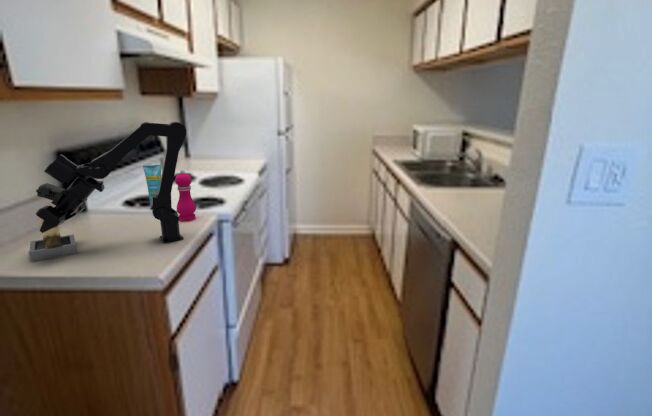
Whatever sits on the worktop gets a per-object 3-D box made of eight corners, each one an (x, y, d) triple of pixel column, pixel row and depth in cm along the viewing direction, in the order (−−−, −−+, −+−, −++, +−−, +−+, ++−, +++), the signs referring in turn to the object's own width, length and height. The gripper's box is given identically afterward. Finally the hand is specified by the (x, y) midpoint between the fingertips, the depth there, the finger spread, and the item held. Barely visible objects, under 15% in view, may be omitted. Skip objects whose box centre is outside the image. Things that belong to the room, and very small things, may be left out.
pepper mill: (184, 223, 148) (179, 171, 142) (174, 219, 152) (168, 169, 147) (200, 218, 153) (196, 169, 148) (190, 215, 157) (185, 167, 152)
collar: (77, 253, 118) (75, 244, 117) (31, 262, 112) (29, 252, 111) (75, 242, 127) (73, 234, 126) (32, 250, 121) (30, 241, 120)
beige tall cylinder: (63, 249, 119) (54, 209, 115) (45, 252, 116) (36, 211, 113) (62, 245, 122) (54, 206, 119) (45, 248, 120) (37, 208, 116)
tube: (147, 210, 166) (141, 166, 161) (149, 207, 171) (143, 164, 165) (165, 209, 168) (160, 165, 163) (167, 206, 172) (162, 163, 167)
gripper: (68, 169, 123) (37, 204, 124) (36, 180, 105) (0, 221, 106) (99, 192, 126) (68, 226, 127) (73, 206, 108) (38, 246, 109)
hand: (45, 229), depth 117 cm, fingers closed on beige tall cylinder, 4 cm apart
